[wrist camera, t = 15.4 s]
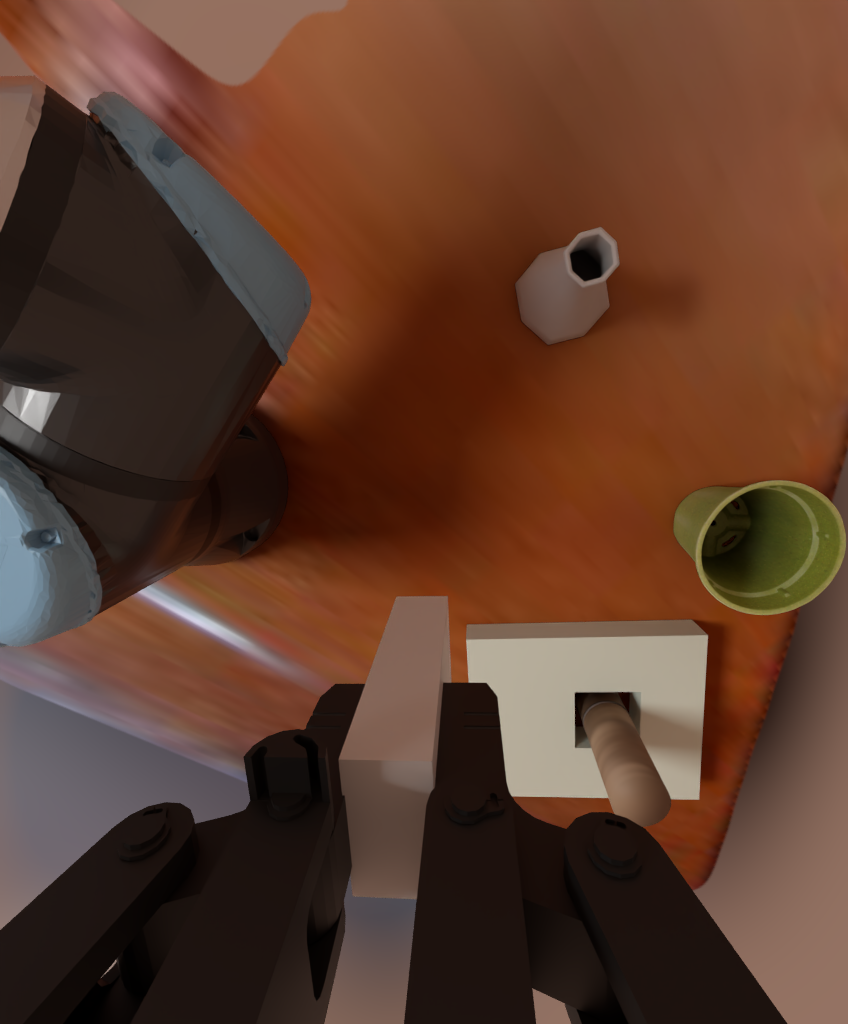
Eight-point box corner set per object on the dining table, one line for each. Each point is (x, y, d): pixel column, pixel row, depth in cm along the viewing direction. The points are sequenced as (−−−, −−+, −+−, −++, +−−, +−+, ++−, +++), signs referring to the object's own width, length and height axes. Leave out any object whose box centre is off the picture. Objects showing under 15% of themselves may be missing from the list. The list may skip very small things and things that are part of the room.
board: (475, 771, 48) (475, 795, 45) (466, 624, 45) (466, 639, 42) (684, 774, 46) (699, 799, 43) (691, 619, 42) (708, 635, 40)
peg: (575, 719, 46) (610, 826, 34) (575, 680, 45) (610, 776, 33) (619, 719, 45) (670, 828, 34) (620, 680, 44) (672, 777, 33)
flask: (624, 310, 38) (677, 277, 28) (542, 361, 39) (565, 345, 29) (581, 226, 37) (620, 161, 27) (498, 281, 38) (507, 238, 29)
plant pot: (627, 523, 41) (667, 552, 33) (714, 442, 39) (781, 451, 31) (703, 594, 42) (761, 641, 33) (792, 518, 40) (878, 547, 31)
